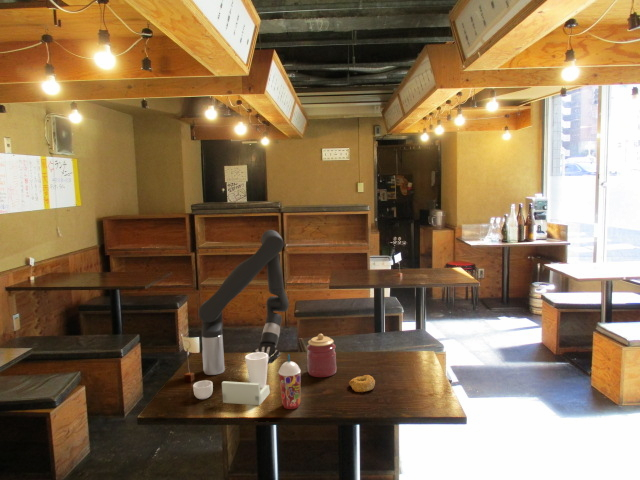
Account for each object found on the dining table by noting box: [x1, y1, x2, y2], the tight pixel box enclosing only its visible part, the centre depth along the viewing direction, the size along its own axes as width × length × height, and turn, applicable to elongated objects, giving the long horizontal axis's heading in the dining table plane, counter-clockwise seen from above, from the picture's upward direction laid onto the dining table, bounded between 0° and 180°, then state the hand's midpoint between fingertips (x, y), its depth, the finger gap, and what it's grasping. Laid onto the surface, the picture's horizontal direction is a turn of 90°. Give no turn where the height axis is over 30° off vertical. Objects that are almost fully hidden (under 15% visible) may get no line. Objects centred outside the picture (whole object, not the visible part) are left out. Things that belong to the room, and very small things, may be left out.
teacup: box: [192, 379, 214, 400], centre depth 197 cm, size 10×8×5 cm
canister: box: [306, 333, 337, 378], centre depth 216 cm, size 13×13×18 cm
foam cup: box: [244, 352, 269, 390], centre depth 204 cm, size 10×9×13 cm
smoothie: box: [278, 354, 302, 410], centre depth 183 cm, size 8×8×20 cm
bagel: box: [348, 374, 376, 393], centre depth 198 cm, size 10×11×5 cm
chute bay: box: [221, 380, 271, 406], centre depth 193 cm, size 11×15×8 cm
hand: (262, 371), depth 210 cm, fingers closed
